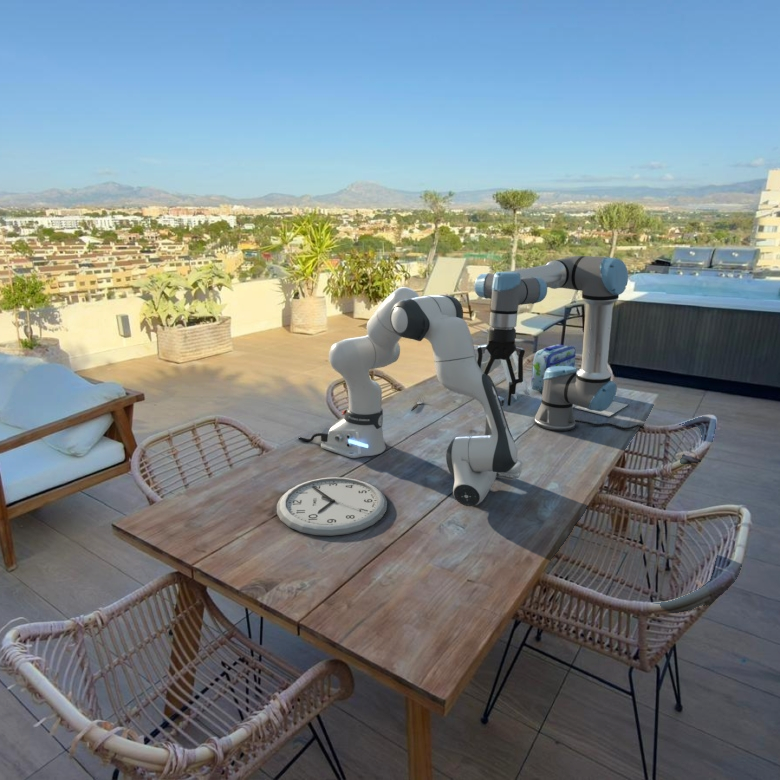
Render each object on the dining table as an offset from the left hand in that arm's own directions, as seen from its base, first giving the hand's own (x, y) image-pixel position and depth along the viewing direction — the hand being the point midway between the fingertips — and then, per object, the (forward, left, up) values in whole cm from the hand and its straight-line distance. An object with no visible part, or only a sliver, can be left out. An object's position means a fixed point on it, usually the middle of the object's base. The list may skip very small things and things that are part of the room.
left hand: (492, 453), depth 162 cm
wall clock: (-35, -39, -6) cm, 53 cm away
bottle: (0, -1, -6) cm, 6 cm away
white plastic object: (-25, +80, -6) cm, 84 cm away
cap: (0, -1, +18) cm, 18 cm away
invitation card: (+28, +84, -6) cm, 88 cm away
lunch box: (+5, +100, -6) cm, 101 cm away
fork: (-43, +48, -6) cm, 65 cm away
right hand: (0, -1, +17) cm, 17 cm away
